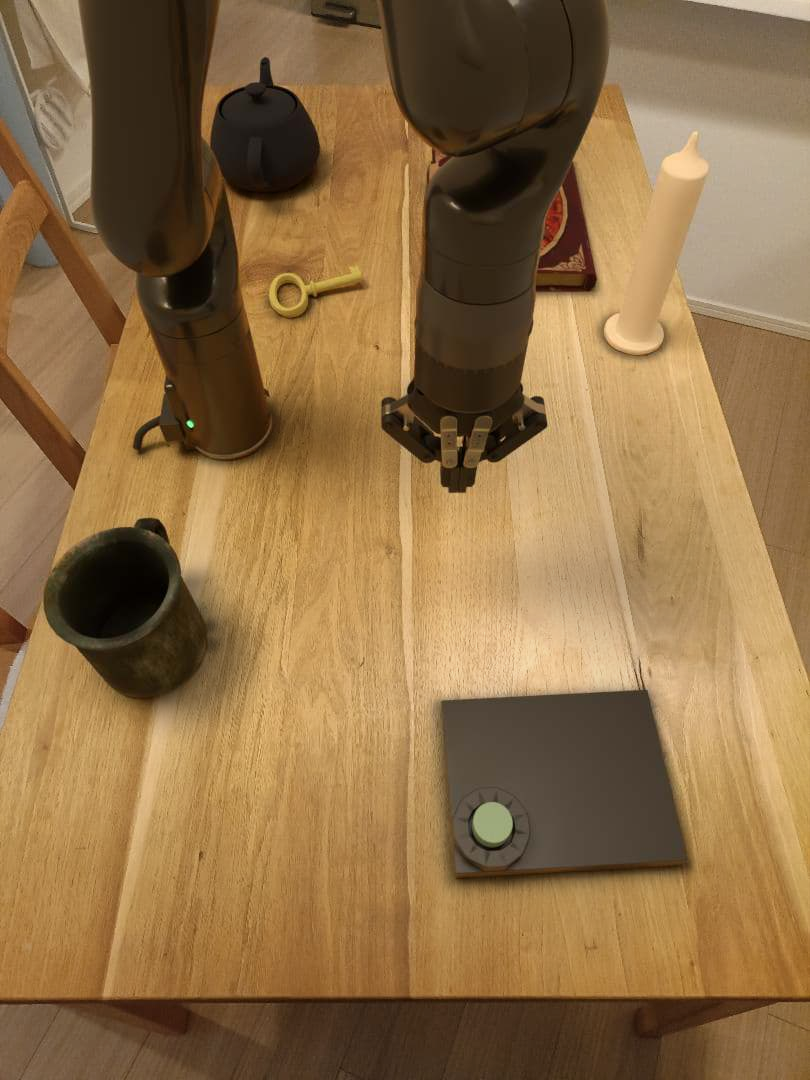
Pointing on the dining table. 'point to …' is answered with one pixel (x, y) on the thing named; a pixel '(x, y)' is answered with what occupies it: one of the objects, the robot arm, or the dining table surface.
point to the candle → (658, 252)
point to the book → (557, 238)
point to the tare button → (492, 824)
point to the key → (308, 289)
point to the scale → (560, 783)
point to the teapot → (264, 136)
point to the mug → (127, 609)
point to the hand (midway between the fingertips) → (456, 484)
